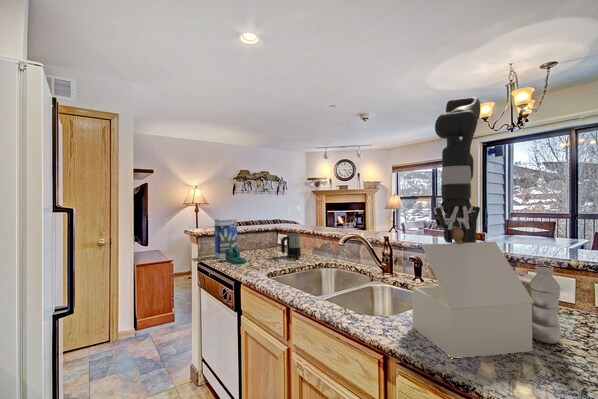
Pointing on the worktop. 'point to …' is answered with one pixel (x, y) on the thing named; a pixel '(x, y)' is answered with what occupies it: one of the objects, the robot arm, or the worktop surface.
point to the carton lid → (475, 274)
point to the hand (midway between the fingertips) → (456, 241)
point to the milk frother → (292, 245)
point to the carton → (471, 325)
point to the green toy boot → (234, 256)
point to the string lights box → (225, 236)
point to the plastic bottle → (545, 305)
